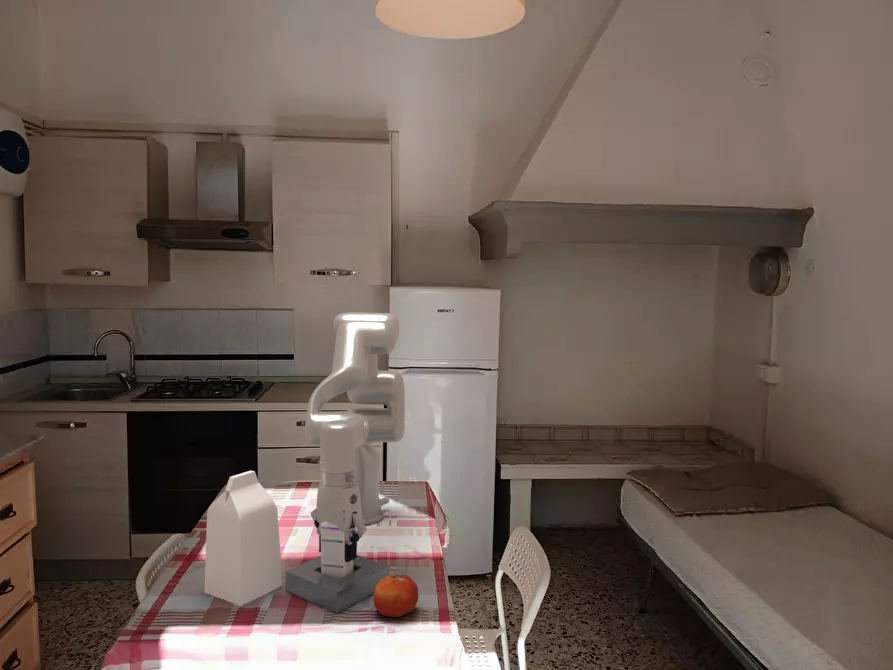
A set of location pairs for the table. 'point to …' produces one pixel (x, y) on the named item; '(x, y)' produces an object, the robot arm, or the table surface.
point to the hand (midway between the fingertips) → (337, 554)
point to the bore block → (335, 583)
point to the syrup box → (334, 552)
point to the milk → (242, 542)
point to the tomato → (395, 595)
